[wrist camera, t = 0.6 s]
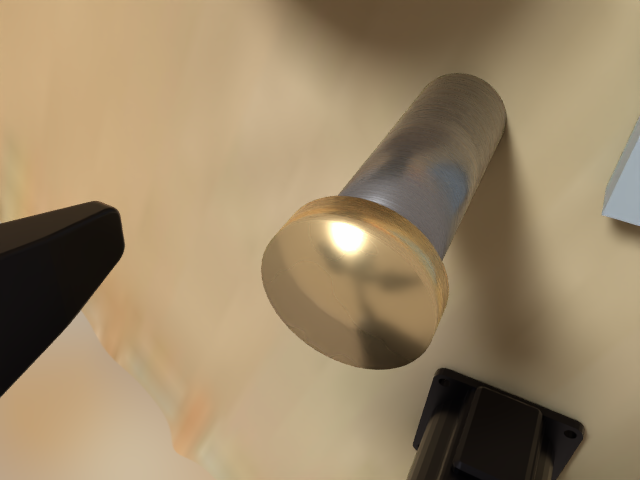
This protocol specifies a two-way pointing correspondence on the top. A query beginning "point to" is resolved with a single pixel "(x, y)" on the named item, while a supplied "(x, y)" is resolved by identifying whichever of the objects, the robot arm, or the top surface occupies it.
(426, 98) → the bolt
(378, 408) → the top surface
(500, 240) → the top surface
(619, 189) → the keyhole board
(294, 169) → the top surface
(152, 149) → the top surface
